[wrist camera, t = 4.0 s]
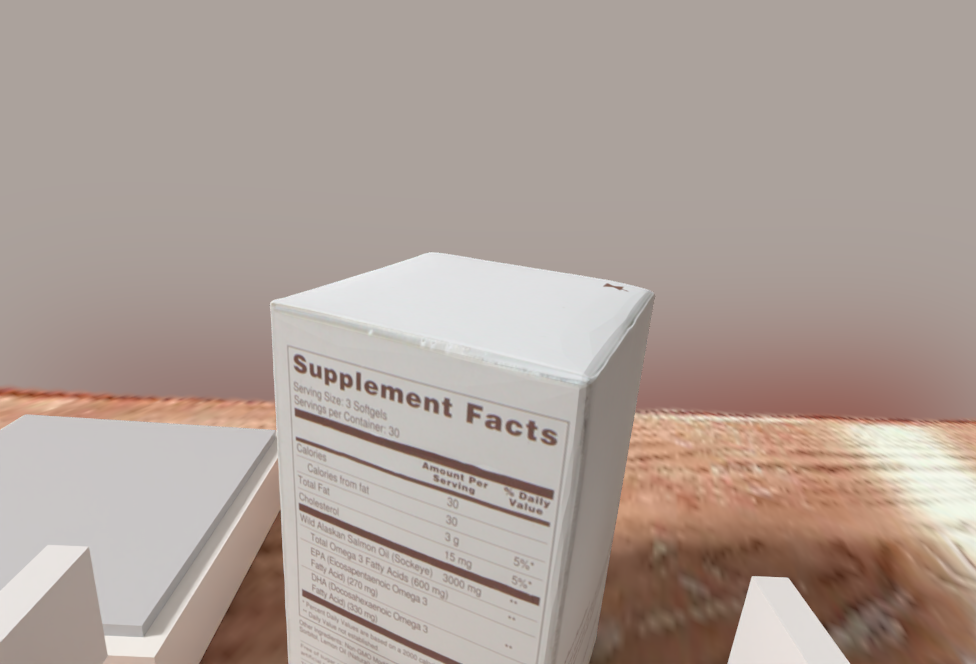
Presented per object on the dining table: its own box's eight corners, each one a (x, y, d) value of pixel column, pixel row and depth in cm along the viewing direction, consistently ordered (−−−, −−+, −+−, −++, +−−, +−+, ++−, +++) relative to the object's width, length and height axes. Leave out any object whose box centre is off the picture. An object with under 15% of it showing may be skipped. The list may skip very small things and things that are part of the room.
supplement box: (416, 565, 23) (431, 246, 19) (601, 639, 20) (666, 285, 16) (280, 727, 16) (258, 293, 12) (525, 869, 14) (602, 372, 9)
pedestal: (295, 481, 27) (293, 424, 26) (164, 729, 16) (152, 645, 15) (33, 466, 27) (21, 407, 26) (-296, 710, 15) (-339, 622, 14)
